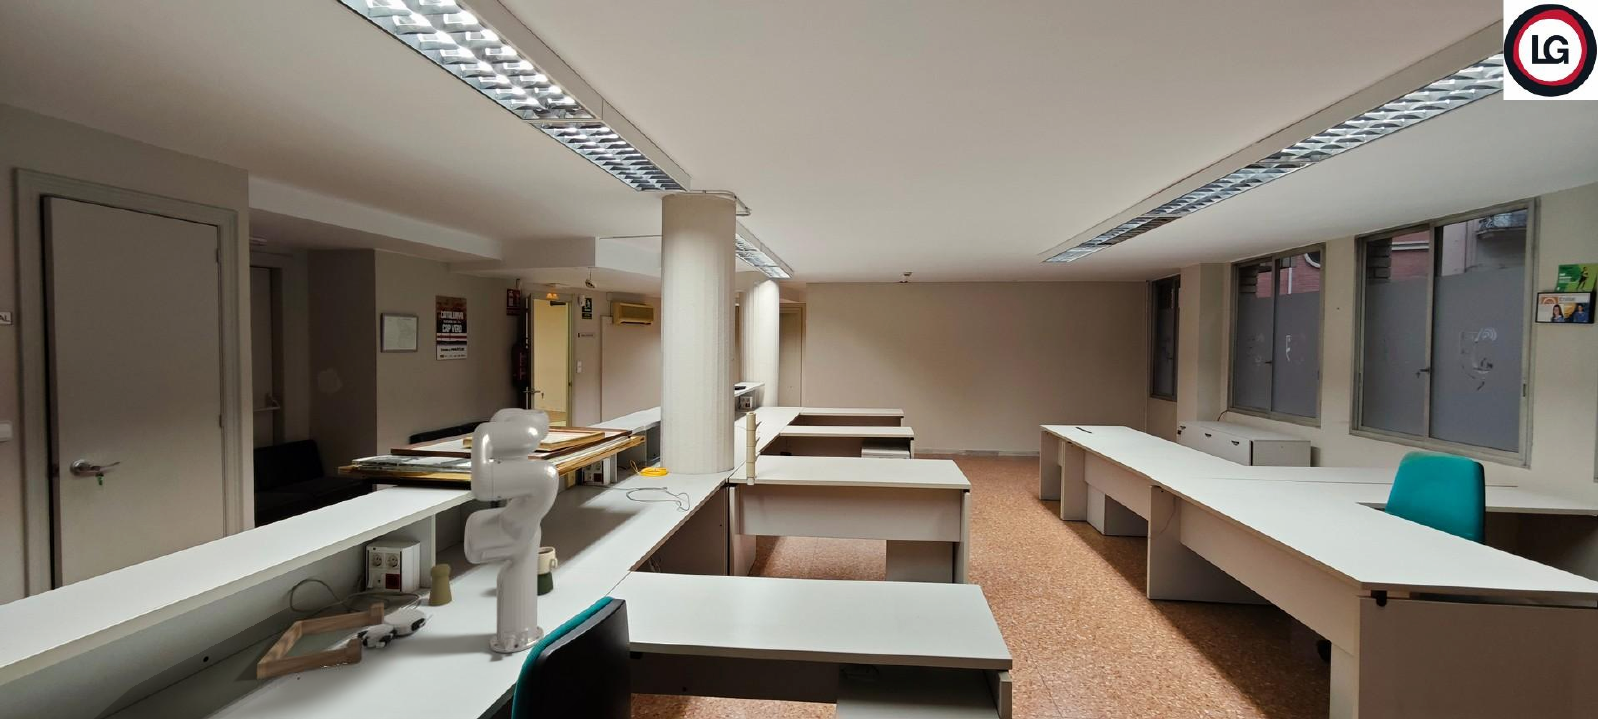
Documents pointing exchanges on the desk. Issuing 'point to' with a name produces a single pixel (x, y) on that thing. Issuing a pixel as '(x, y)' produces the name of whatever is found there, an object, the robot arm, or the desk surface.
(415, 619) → the robot toy
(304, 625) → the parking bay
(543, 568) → the character mug
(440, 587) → the cork
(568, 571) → the desk surface
